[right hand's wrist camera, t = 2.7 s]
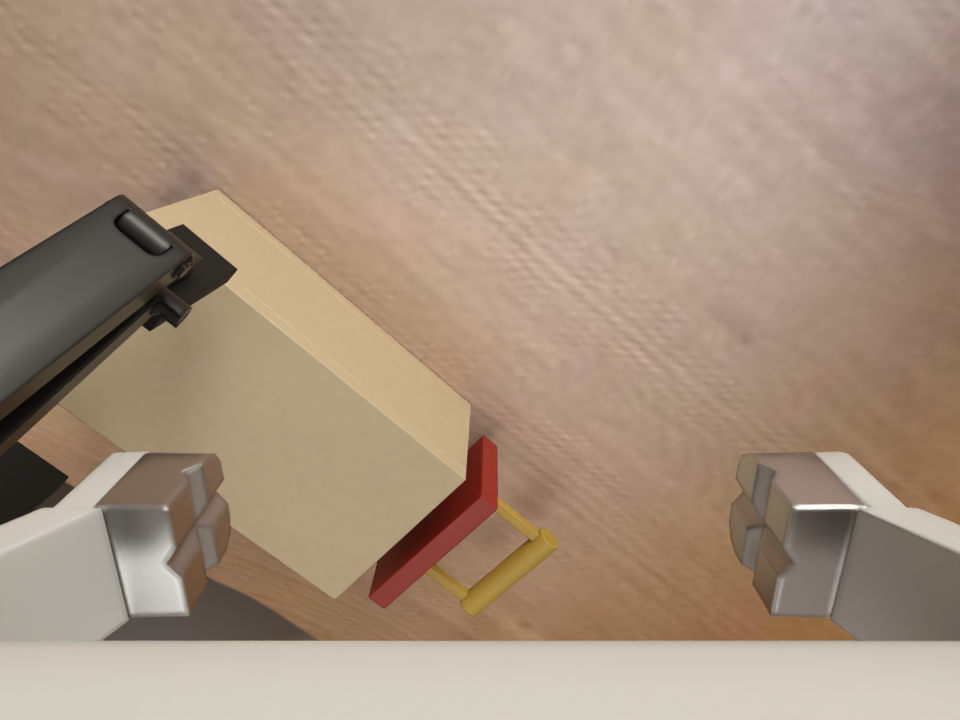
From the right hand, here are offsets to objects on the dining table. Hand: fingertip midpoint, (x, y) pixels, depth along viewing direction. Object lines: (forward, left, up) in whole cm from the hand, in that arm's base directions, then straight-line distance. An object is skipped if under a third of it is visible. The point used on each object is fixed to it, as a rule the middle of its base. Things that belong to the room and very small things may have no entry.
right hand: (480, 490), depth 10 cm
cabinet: (+9, +11, -28) cm, 31 cm away
